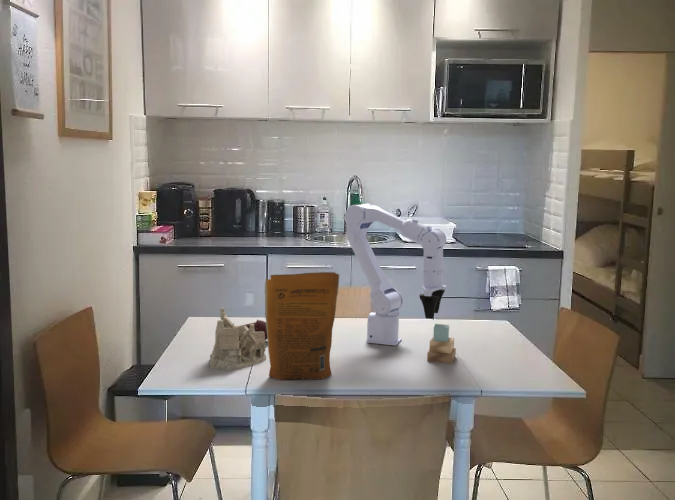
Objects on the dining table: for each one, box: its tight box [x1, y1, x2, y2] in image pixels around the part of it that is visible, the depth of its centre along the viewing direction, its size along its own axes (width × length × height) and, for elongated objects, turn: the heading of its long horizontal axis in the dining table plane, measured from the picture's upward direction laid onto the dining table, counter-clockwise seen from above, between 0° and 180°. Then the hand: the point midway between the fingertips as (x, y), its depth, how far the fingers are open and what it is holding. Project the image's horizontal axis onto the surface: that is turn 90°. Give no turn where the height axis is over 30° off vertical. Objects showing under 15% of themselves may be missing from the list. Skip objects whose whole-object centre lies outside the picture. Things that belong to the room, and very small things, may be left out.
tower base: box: [426, 347, 457, 365], centre depth 197 cm, size 7×7×3 cm
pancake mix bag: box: [264, 271, 340, 381], centre depth 176 cm, size 7×19×28 cm, turn 97°
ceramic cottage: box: [209, 307, 267, 371], centre depth 190 cm, size 16×16×15 cm
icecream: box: [240, 319, 268, 341], centre depth 211 cm, size 7×8×15 cm
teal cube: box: [432, 323, 450, 342], centre depth 197 cm, size 4×4×4 cm
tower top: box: [428, 337, 455, 354], centre depth 197 cm, size 6×6×3 cm
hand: (431, 315), depth 205 cm, fingers open, 7 cm apart
